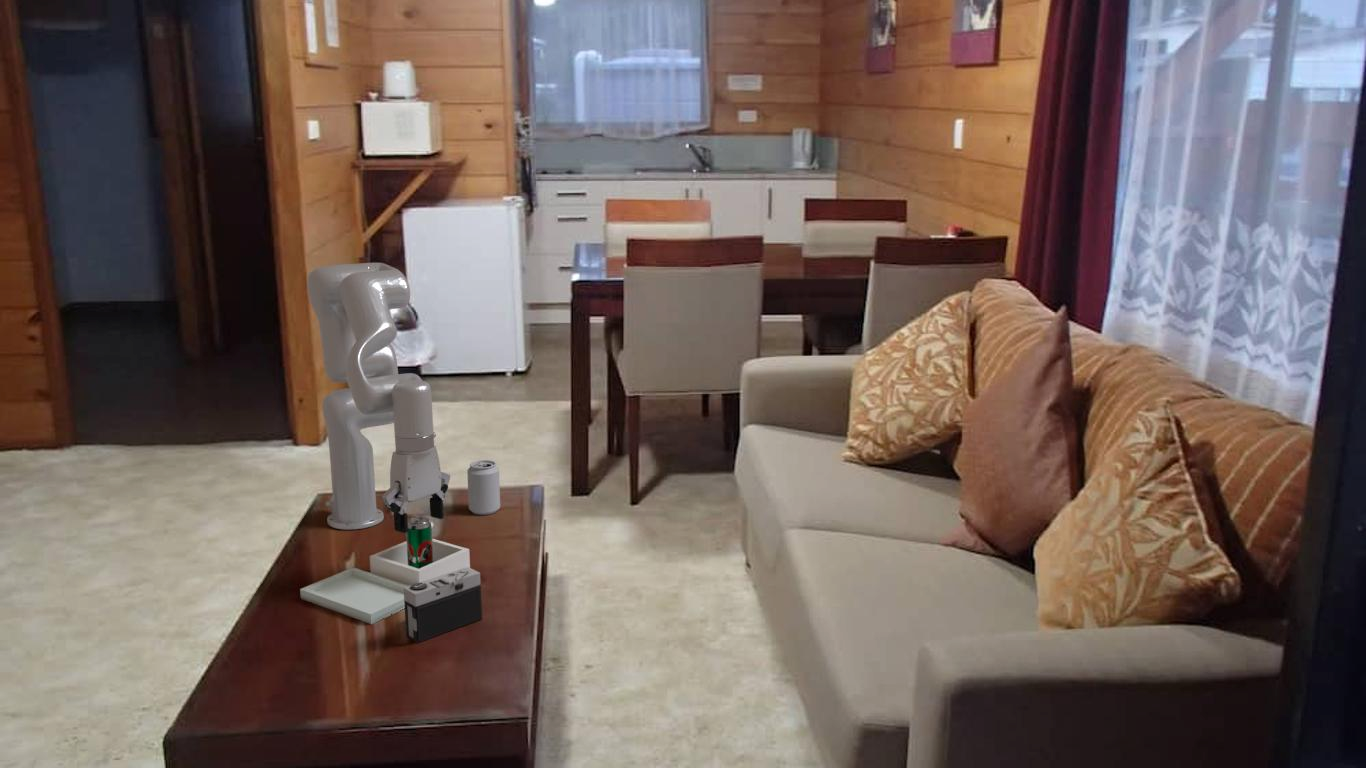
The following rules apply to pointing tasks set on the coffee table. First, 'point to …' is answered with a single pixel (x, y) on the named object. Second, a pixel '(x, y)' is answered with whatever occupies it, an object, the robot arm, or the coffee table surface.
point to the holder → (444, 561)
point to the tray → (357, 595)
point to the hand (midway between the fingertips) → (419, 524)
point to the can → (483, 487)
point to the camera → (442, 604)
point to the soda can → (419, 542)
